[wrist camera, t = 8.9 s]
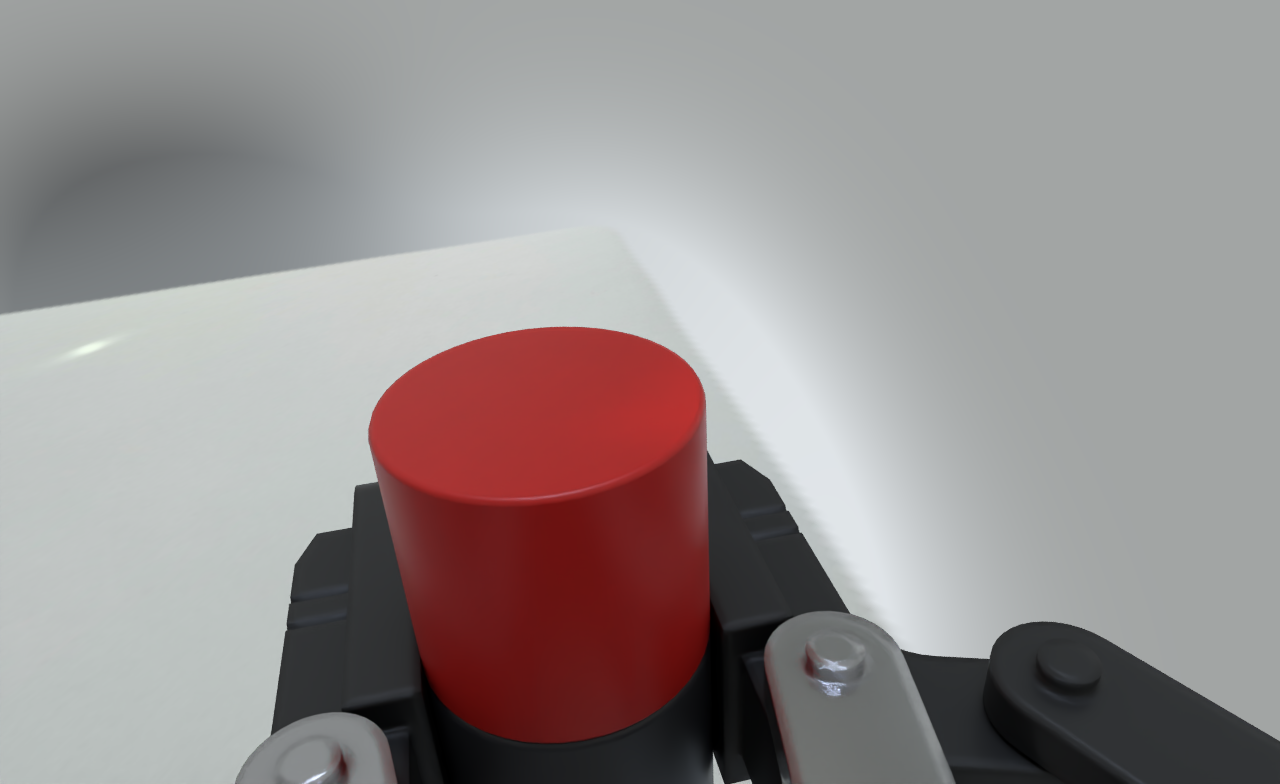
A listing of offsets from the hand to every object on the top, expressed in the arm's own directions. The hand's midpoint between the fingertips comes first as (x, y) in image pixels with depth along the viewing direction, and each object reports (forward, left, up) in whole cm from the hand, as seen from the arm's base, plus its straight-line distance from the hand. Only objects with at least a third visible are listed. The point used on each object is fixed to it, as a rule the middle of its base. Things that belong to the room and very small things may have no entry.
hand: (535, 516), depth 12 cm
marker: (+2, -2, -10) cm, 11 cm away
